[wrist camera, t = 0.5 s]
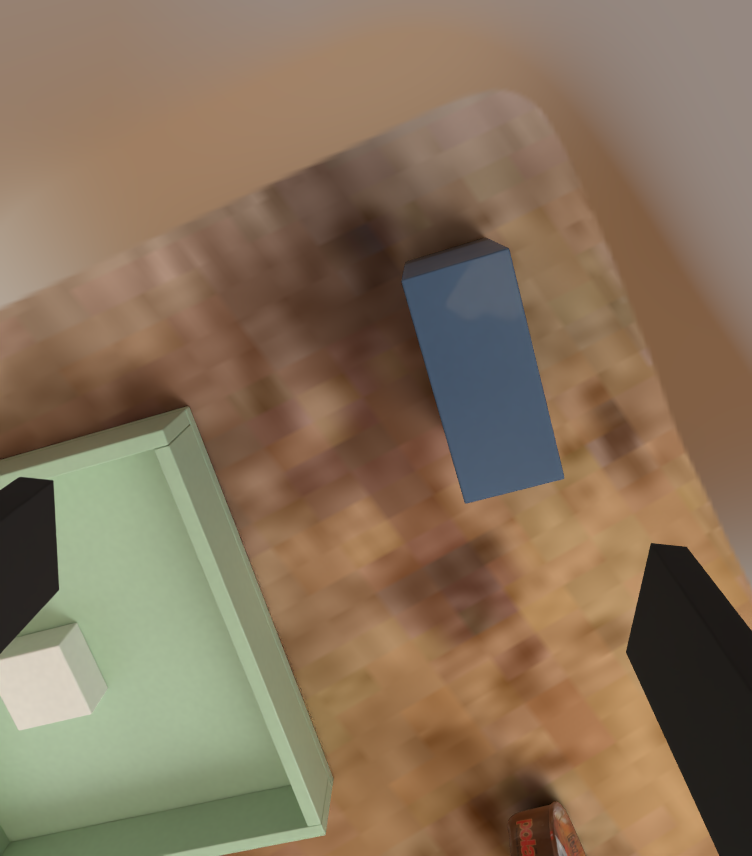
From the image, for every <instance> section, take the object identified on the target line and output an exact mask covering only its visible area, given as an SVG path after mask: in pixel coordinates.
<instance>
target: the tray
mask: <svg viewBox="0 0 752 856" xmlns="http://www.w3.org/2000/svg"><path fill="white" fill-rule="evenodd" d="M18 477H27V478H37V479H46V480H53V481H54V500H55V519H56V537H57V556H58V575H59V591H58V592H57V593H56V594H55V595H54V596H53V597H52V598H51V600H50V601H49V602H48V603H47V604H46V605H45V606H44V607H43V608H42V609H41V610H40V611H39V613H38V614H37V615H36V616H35V617H34V618H33V619H32V620H31V621H30V622H29V623H28V624H27V625H26V627H25V628H24V629H23V630H22V631H21V632H20V633H19V634H18V635H17V636H16V637H20V636H24V635H28V634H32V633H36V632H40V631H44V630H48V629H52V628H56V627H60V626H64V625H68V624H72V623H77V624H78V626H79V628H80V630H81V632H82V634H83V636H84V638H85V641H86V643H87V645H88V647H89V649H90V651H91V653H92V655H93V657H94V659H95V662H96V664H97V666H98V668H99V670H100V672H101V674H102V676H103V678H104V681H105V683H106V685H107V687H108V689H107V691H106V692H105V694H104V695H103V697H102V698H101V700H100V702H99V703H98V705H97V706H96V708H95V709H94V711H93V713H92V714H90V715H86V716H81V717H77V718H73V719H68V720H64V721H59V722H55V723H51V724H46V725H42V726H37V727H33V728H29V729H24V730H20V731H19V730H18V729H17V727H16V725H15V723H14V721H13V719H12V717H11V715H10V713H9V712H8V710H7V708H6V706H5V704H4V702H3V700H2V698H1V696H0V856H220V855H225V854H230V853H235V852H240V851H245V850H251V849H256V848H261V847H266V846H271V845H277V844H282V843H287V842H292V841H297V840H303V839H308V838H313V837H318V836H323V835H325V834H326V827H327V820H328V814H329V807H330V800H331V793H332V785H333V776H332V774H331V771H330V769H329V766H328V763H327V761H326V758H325V756H324V753H323V750H322V748H321V745H320V743H319V740H318V738H317V735H316V732H315V730H314V727H313V725H312V722H311V720H310V717H309V714H308V712H307V709H306V707H305V704H304V701H303V699H302V696H301V694H300V691H299V689H298V686H297V683H296V681H295V678H294V676H293V673H292V670H291V668H290V665H289V663H288V660H287V658H286V655H285V652H284V650H283V647H282V645H281V642H280V640H279V637H278V634H277V632H276V629H275V627H274V624H273V621H272V619H271V616H270V614H269V611H268V609H267V606H266V603H265V601H264V598H263V596H262V593H261V591H260V588H259V585H258V583H257V580H256V578H255V575H254V572H253V570H252V567H251V565H250V562H249V560H248V557H247V554H246V552H245V549H244V547H243V544H242V542H241V539H240V536H239V534H238V531H237V529H236V526H235V523H234V521H233V518H232V516H231V513H230V511H229V508H228V505H227V503H226V500H225V498H224V495H223V493H222V490H221V487H220V485H219V482H218V480H217V477H216V474H215V472H214V469H213V467H212V464H211V462H210V459H209V456H208V454H207V451H206V449H205V446H204V444H203V441H202V438H201V436H200V433H199V431H198V428H197V425H196V423H195V420H194V418H193V415H192V413H191V410H190V407H189V406H186V407H183V408H180V409H176V410H173V411H169V412H166V413H162V414H159V415H155V416H152V417H148V418H145V419H141V420H138V421H134V422H131V423H127V424H124V425H120V426H117V427H113V428H110V429H106V430H103V431H99V432H96V433H92V434H89V435H86V436H82V437H79V438H75V439H72V440H68V441H65V442H61V443H58V444H54V445H51V446H47V447H44V448H40V449H37V450H33V451H30V452H26V453H23V454H19V455H16V456H12V457H9V458H5V459H2V460H0V490H1V489H2V488H4V487H5V486H7V485H8V484H10V483H11V482H12V481H14V480H15V479H17V478H18ZM16 637H15V638H16Z"/></svg>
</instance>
